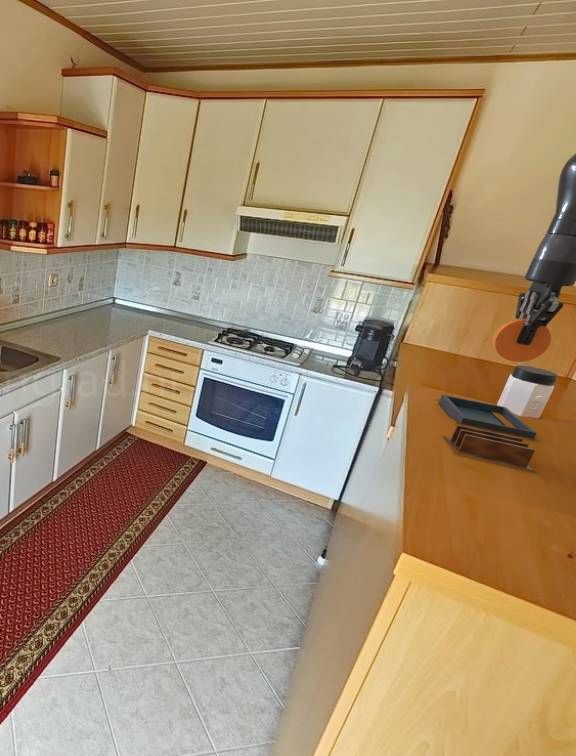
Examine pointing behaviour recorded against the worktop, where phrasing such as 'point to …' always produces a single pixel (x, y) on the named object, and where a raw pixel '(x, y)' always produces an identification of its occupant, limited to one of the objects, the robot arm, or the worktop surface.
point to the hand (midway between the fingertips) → (520, 342)
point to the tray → (484, 416)
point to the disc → (514, 351)
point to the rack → (491, 446)
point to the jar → (527, 391)
